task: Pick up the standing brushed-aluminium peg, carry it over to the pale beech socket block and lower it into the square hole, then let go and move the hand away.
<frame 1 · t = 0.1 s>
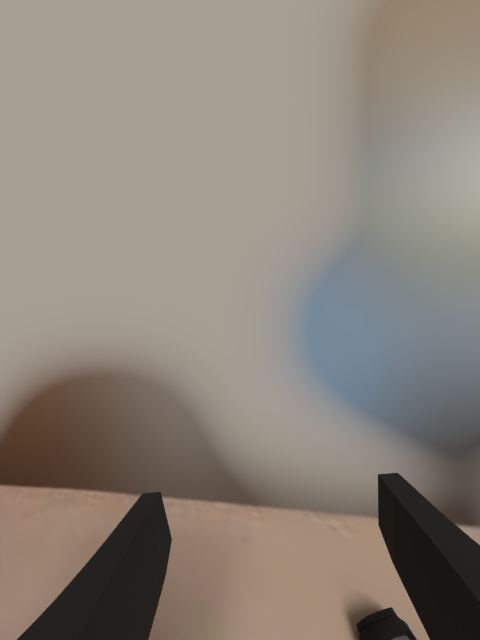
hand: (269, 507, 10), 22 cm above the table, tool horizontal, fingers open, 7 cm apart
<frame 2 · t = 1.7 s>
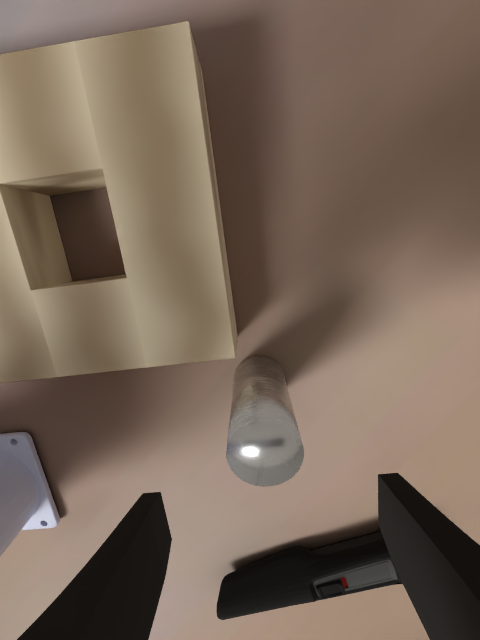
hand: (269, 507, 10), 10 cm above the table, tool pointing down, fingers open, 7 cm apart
socket block: (101, 234, 17), on the table
peg: (259, 378, 19), on the table
electric trimmer: (318, 550, 23), on the table
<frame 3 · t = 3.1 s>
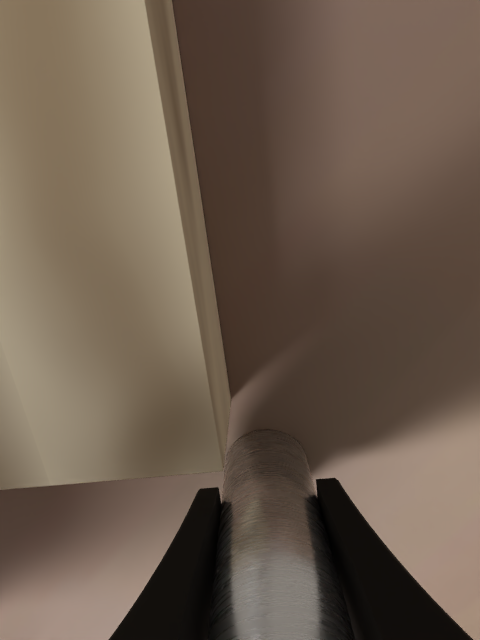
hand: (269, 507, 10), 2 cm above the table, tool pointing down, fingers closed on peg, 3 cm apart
peg: (266, 465, 12), on the table, touching gripper
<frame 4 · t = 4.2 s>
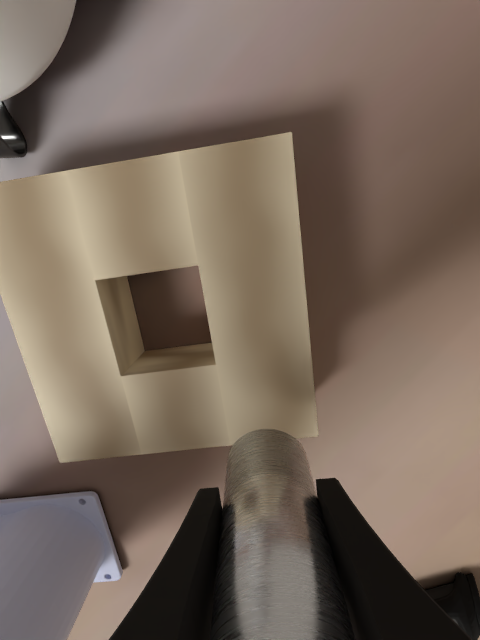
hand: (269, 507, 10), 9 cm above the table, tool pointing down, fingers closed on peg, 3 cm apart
socket block: (175, 307, 17), on the table
peg: (267, 463, 12), point 7 cm above the table, touching gripper
electric trimmer: (375, 602, 23), on the table
when the fingers open (4 cm above the table, at t = 5.7 s): peg drops 2 cm, resting in socket block.
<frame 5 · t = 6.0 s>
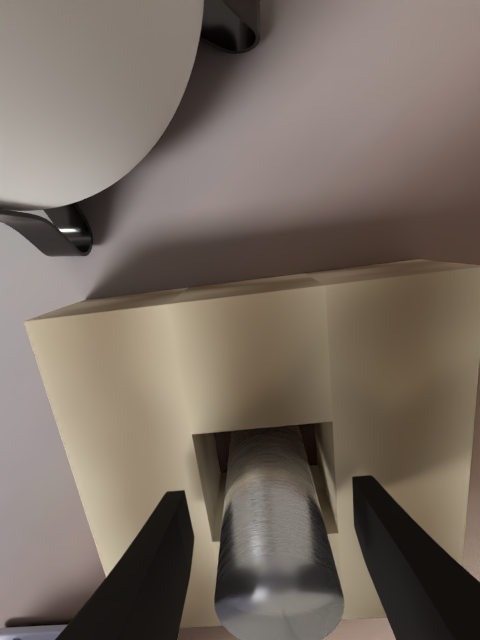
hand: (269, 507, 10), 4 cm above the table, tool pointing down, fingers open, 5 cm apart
socket block: (263, 426, 14), on the table
coffee press: (14, 21, 10), on the table
peg: (265, 430, 14), resting in socket block
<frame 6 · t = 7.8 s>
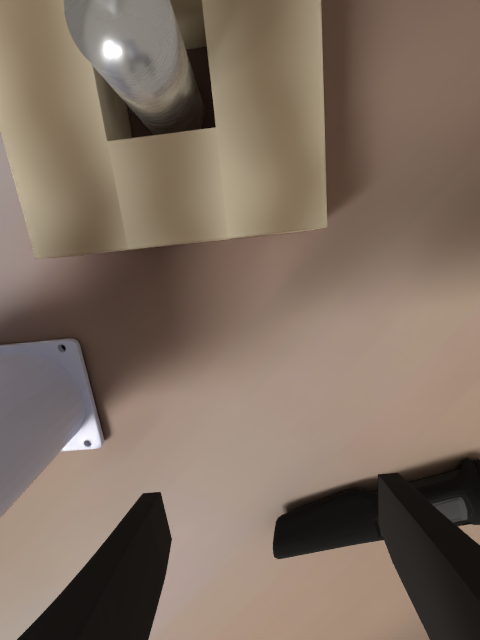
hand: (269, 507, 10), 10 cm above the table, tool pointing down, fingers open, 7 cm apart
socket block: (172, 107, 15), on the table
peg: (173, 111, 16), resting in socket block
electric trimmer: (375, 495, 22), on the table
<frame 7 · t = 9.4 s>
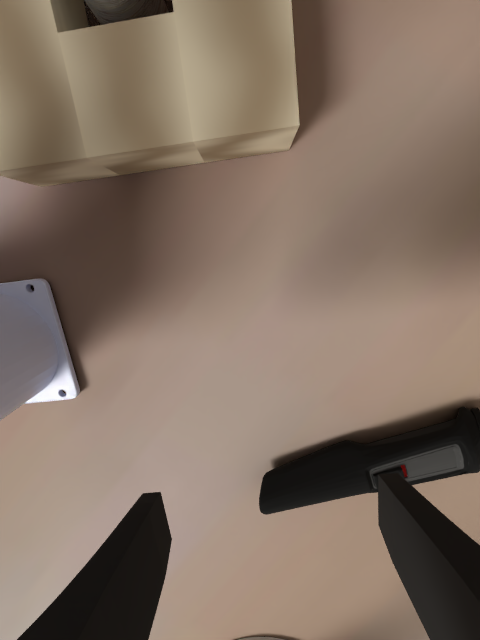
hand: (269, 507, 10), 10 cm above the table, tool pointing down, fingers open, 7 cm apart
socket block: (134, 14, 15), on the table
peg: (137, 19, 15), resting in socket block
electric trimmer: (367, 450, 21), on the table
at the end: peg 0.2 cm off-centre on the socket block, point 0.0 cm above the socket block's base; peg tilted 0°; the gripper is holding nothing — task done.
